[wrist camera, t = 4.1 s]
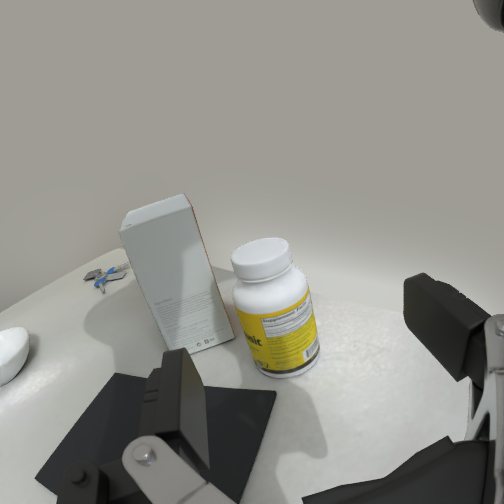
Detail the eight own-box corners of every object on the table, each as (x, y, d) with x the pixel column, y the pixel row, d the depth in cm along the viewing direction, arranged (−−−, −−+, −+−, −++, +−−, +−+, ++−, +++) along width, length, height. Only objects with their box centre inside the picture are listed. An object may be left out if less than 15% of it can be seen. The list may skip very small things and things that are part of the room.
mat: (276, 393, 22) (275, 390, 21) (211, 570, 10) (208, 569, 9) (116, 375, 27) (115, 372, 27) (37, 480, 15) (34, 478, 15)
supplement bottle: (251, 346, 27) (218, 246, 24) (310, 328, 28) (288, 226, 24) (260, 389, 22) (222, 277, 19) (329, 367, 23) (310, 251, 19)
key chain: (81, 279, 55) (79, 275, 55) (114, 260, 60) (113, 256, 60) (103, 295, 46) (101, 290, 45) (144, 270, 51) (142, 266, 50)
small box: (237, 339, 29) (192, 204, 24) (173, 361, 28) (115, 231, 23) (220, 300, 36) (184, 191, 31) (168, 318, 35) (125, 211, 30)
